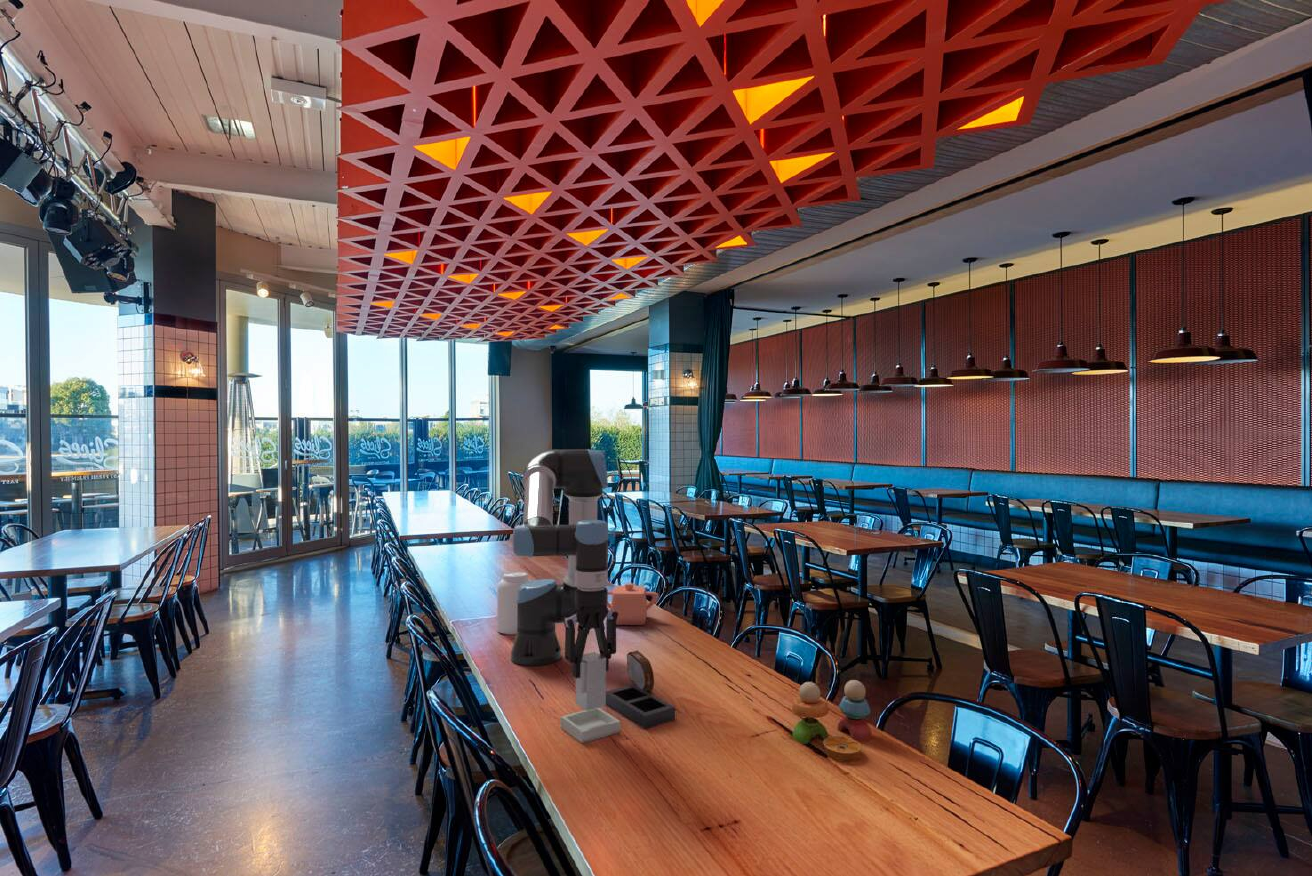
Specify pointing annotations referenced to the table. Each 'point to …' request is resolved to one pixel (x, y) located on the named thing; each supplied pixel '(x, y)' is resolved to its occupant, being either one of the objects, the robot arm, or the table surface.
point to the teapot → (631, 604)
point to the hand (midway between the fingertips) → (590, 688)
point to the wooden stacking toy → (853, 721)
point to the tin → (640, 670)
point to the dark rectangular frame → (640, 706)
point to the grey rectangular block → (593, 682)
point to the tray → (590, 725)
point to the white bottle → (509, 601)
